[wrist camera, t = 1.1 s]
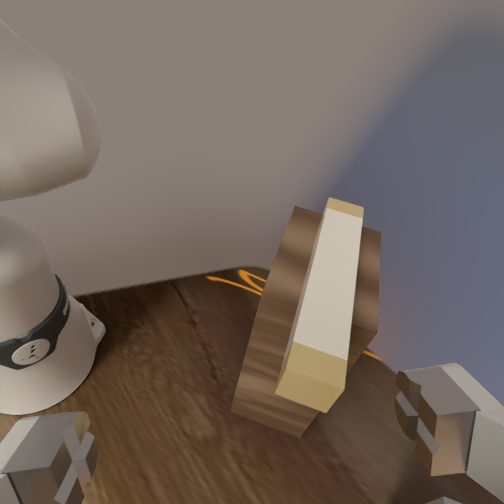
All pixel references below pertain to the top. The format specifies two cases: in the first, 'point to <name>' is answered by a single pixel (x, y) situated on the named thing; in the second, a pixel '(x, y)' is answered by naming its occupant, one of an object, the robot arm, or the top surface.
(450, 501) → the grey block
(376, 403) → the top surface
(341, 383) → the cream tan bar
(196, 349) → the top surface
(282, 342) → the walnut post
